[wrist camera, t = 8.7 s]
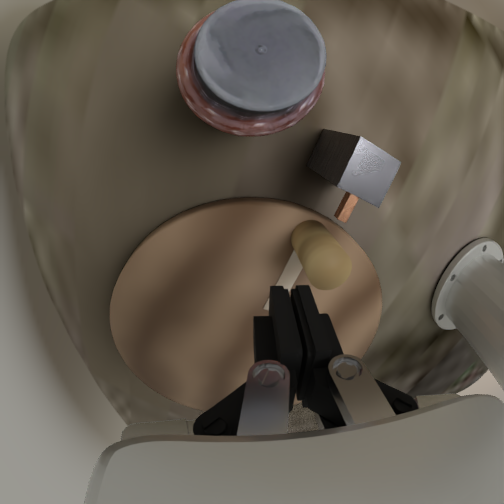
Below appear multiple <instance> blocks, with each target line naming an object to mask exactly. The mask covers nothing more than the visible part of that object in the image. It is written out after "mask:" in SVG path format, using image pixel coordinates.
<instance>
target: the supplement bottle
mask: <svg viewBox="0 0 504 504" xmlns="http://www.w3.org/2000/svg"><path fill="white" fill-rule="evenodd" d="M325 66H326V49H325V43H324V40H323V38H322V36H321V34H320V32H319V30H318V29H317V27H316V26H315V24H314V23H313V22H312V20H311V19H310V18H309V17H307V16H306V15H305V14H304V13H303V12H302V11H300V10H299V9H297V8H296V7H294V6H292V5H289V4H287V3H285V2H283V1H280V0H236V1H233V2H230V3H228V4H226V5H224V6H222V7H220V8H219V9H217V10H216V11H214V12H212V13H210V14H208V15H207V16H205V17H204V18H202V19H201V20H200V21H199V22H197V23H196V24H195V25H194V27H193V28H192V29H191V30H190V31H189V32H188V34H187V35H186V37H185V39H184V40H183V42H182V45H181V47H180V50H179V53H178V56H177V64H176V76H177V82H178V86H179V89H180V92H181V94H182V97H183V98H184V100H185V102H186V104H187V105H188V107H189V108H190V109H191V110H192V111H193V113H194V114H195V115H196V116H198V117H199V118H200V119H201V120H203V121H204V122H206V123H207V124H209V125H210V126H212V127H214V128H216V129H218V130H221V131H223V132H226V133H229V134H233V135H237V136H264V135H269V134H273V133H276V132H280V131H282V130H285V129H287V128H289V127H292V126H293V125H295V124H296V123H297V122H299V121H300V120H301V119H303V118H304V117H305V116H306V115H307V114H308V113H309V111H310V110H311V109H312V108H313V107H314V105H315V104H316V102H317V101H318V99H319V97H320V94H321V93H322V89H323V85H324V78H325Z"/></svg>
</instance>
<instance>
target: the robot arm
mask: <svg viewBox="0 0 504 504" xmlns="http://www.w3.org/2000/svg"><path fill="white" fill-rule="evenodd" d="M431 310H432V317H433V319H434V321H435V322H436V323H437V325H438V326H439V327H441V328H442V329H445V330H452V329H456V328H457V329H458V330H459V332H460V333H461V334H462V335H463V336H464V338H465V339H466V340H467V341H468V343H469V344H470V345H471V347H472V348H473V349H474V350H475V352H476V353H477V354H478V356H479V357H480V358H481V360H482V361H483V362H484V364H485V365H486V366H487V368H488V369H489V370H490V372H491V373H492V374H493V376H494V377H495V379H496V380H497V382H498V383H499V385H500V386H501V388H502V389H503V390H504V264H503V252H502V249H501V247H500V246H499V244H497V243H496V242H495V241H493V240H492V239H489V238H481V239H478V240H475V241H474V242H472V243H470V244H469V245H467V246H466V247H465V248H464V249H462V250H461V252H460V253H459V254H458V255H457V256H456V257H455V258H454V259H453V260H452V262H451V263H450V264H449V266H448V267H447V269H446V270H445V272H444V273H443V275H442V277H441V279H440V281H439V283H438V285H437V288H436V290H435V293H434V297H433V300H432V308H431ZM253 346H254V364H253V365H252V367H251V368H250V369H249V371H248V375H247V381H246V382H245V383H244V384H242V385H241V386H240V387H238V388H237V389H236V390H234V391H233V392H232V393H230V394H229V395H228V396H226V397H225V398H224V399H222V400H221V401H220V402H218V403H217V404H216V405H214V406H213V407H211V408H210V409H209V410H207V411H206V412H204V413H203V414H202V415H200V416H199V417H198V418H197V419H196V420H189V421H186V419H178V420H169V421H158V422H146V423H135V424H131V425H129V426H127V427H126V428H125V429H124V431H123V432H122V436H121V441H120V442H116V443H114V444H112V445H110V446H109V447H107V448H106V449H105V450H104V451H103V452H102V454H101V455H100V457H99V458H98V461H97V462H96V464H95V467H94V469H93V472H92V475H91V478H90V481H89V485H88V488H87V492H86V497H85V501H84V504H504V403H503V402H502V401H501V400H500V399H498V398H497V397H495V396H491V395H482V394H481V395H480V394H475V395H466V396H460V395H457V394H452V393H451V394H440V395H425V396H416V397H415V398H412V397H411V396H409V395H408V394H405V393H403V392H401V391H399V390H397V389H395V388H392V387H390V386H388V385H386V384H384V383H382V382H380V381H378V380H376V379H374V378H373V376H372V375H371V373H370V372H369V370H368V368H367V367H366V365H365V364H364V362H363V361H362V360H361V359H359V358H358V357H356V356H353V355H348V354H344V353H343V351H342V348H341V345H340V343H339V340H338V337H337V335H336V332H335V330H334V327H333V324H332V322H331V319H330V317H329V315H328V314H327V313H323V314H319V311H318V308H317V305H316V303H315V300H314V297H313V294H312V292H311V289H310V286H309V285H296V287H295V289H291V294H290V295H289V291H288V289H284V287H283V286H270V294H269V316H253ZM295 394H296V397H297V400H298V401H302V405H303V408H304V407H308V408H309V409H310V410H312V411H314V416H315V419H316V422H317V424H318V427H319V429H320V430H316V431H307V432H298V433H287V431H288V413H289V412H290V411H291V410H292V408H293V404H294V399H295Z"/></svg>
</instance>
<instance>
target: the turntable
mask: <svg viewBox="0 0 504 504" xmlns="http://www.w3.org/2000/svg"><path fill="white" fill-rule="evenodd" d="M296 285H309V286H310V289H311V292H312V294H313V297H314V300H315V303H316V305H317V308H318V311H319V314H323V313H327V314H328V315H329V317H330V319H331V322H332V324H333V327H334V330H335V332H336V335H337V337H338V340H339V343H340V345H341V348H342V351H343V353H344V354H348V355H353V356H356V357H358V358H359V359H361V358H362V357H363V356H364V354H365V353H366V351H367V350H368V348H369V346H370V345H371V343H372V341H373V339H374V336H375V334H376V332H377V329H378V326H379V322H380V318H381V311H382V291H381V286H380V282H379V278H378V275H377V273H376V271H375V268H374V266H373V264H372V262H371V261H370V259H369V258H368V256H367V255H366V253H365V252H364V250H363V249H362V248H361V247H360V246H359V245H358V244H357V243H356V242H355V241H354V240H353V238H352V237H351V236H350V235H349V234H348V233H347V232H346V231H345V230H344V229H343V228H342V227H340V226H339V225H338V224H336V223H335V222H333V221H332V220H331V219H329V218H328V217H326V216H324V215H322V214H320V213H318V212H316V211H314V210H312V209H310V208H307V207H304V206H302V205H299V204H296V203H293V202H288V201H283V200H277V199H272V198H256V197H244V198H233V199H224V200H220V201H215V202H211V203H207V204H203V205H200V206H197V207H195V208H192V209H190V210H187V211H184V212H182V213H180V214H178V215H177V216H175V217H173V218H171V219H169V220H168V221H166V222H164V223H163V224H162V225H160V226H159V227H158V228H156V229H155V230H154V231H153V232H151V233H150V234H149V235H148V236H147V237H146V238H145V239H144V240H143V241H142V242H141V243H140V244H139V245H138V246H137V248H136V249H135V250H134V252H133V253H132V255H131V256H130V258H129V259H128V261H127V263H126V264H125V266H124V268H123V270H122V272H121V273H120V275H119V278H118V280H117V282H116V285H115V287H114V290H113V294H112V298H111V303H110V326H111V332H112V336H113V339H114V342H115V345H116V347H117V349H118V351H119V353H120V355H121V357H122V359H123V360H124V361H125V363H126V364H127V366H128V367H129V368H130V369H131V371H132V372H133V373H134V374H135V375H136V376H137V377H138V378H139V379H140V380H141V381H142V382H144V383H145V384H146V385H147V386H148V387H150V388H151V389H153V390H154V391H156V392H157V393H159V394H161V395H162V396H164V397H166V398H168V399H170V400H172V401H175V402H177V403H179V404H182V405H185V406H188V407H191V408H194V409H198V410H202V411H207V410H209V409H210V408H211V407H213V406H214V405H216V404H217V403H218V402H220V401H221V400H222V399H224V398H225V397H226V396H228V395H229V394H230V393H232V392H233V391H234V390H236V389H237V388H238V387H240V386H241V385H242V384H244V383H245V382H246V381H247V375H248V371H249V369H250V368H251V367H252V365H253V364H254V346H253V316H269V294H270V286H283V287H284V289H288V291H289V295H290V294H291V289H295V287H296ZM301 402H302V401H298V400H297V397H296V394H295V399H294V404H293V405H295V404H298V403H301Z"/></svg>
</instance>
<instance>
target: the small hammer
mask: <svg viewBox="0 0 504 504" xmlns="http://www.w3.org/2000/svg"><path fill="white" fill-rule="evenodd" d="M400 164H401V162H400V161H398V160H397V159H395V158H394V157H392V156H391V155H389V154H388V153H386V152H385V151H383V150H382V149H380V148H378V147H377V146H375V145H374V144H372V143H370V142H369V141H367V140H365V139H364V138H362V137H360V136H355V135H351V134H346V133H342V132H337V131H332V130H326V129H323V131H322V133H321V135H320V137H319V140H318V142H317V144H316V146H315V148H314V150H313V152H312V155H311V157H310V159H309V161H308V163H307V165H306V166H308V167H309V168H311V169H312V170H314V171H315V172H317V173H318V174H320V175H321V176H322V177H324V178H325V179H327V180H328V181H330V182H331V183H333V184H334V185H335V186H337V187H339V188H341V189H343V190H345V191H346V193H345V195H344V197H343V199H342V201H341V203H340V205H339V207H338V209H337V211H336V213H335V215H334V216H335V217H336V218H337V219H338V220H340V221H343V222H345V223H346V222H347V220H348V218H349V216H350V214H351V212H352V210H353V209H354V207H355V205H356V203H357V201H358V199H359V198H361V199H363V200H365V201H366V202H368V203H370V204H372V205H374V206H376V207H378V208H379V207H380V205H381V203H382V201H383V199H384V197H385V195H386V193H387V191H388V189H389V187H390V185H391V183H392V181H393V179H394V177H395V175H396V173H397V170H398V168H399V166H400Z"/></svg>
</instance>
